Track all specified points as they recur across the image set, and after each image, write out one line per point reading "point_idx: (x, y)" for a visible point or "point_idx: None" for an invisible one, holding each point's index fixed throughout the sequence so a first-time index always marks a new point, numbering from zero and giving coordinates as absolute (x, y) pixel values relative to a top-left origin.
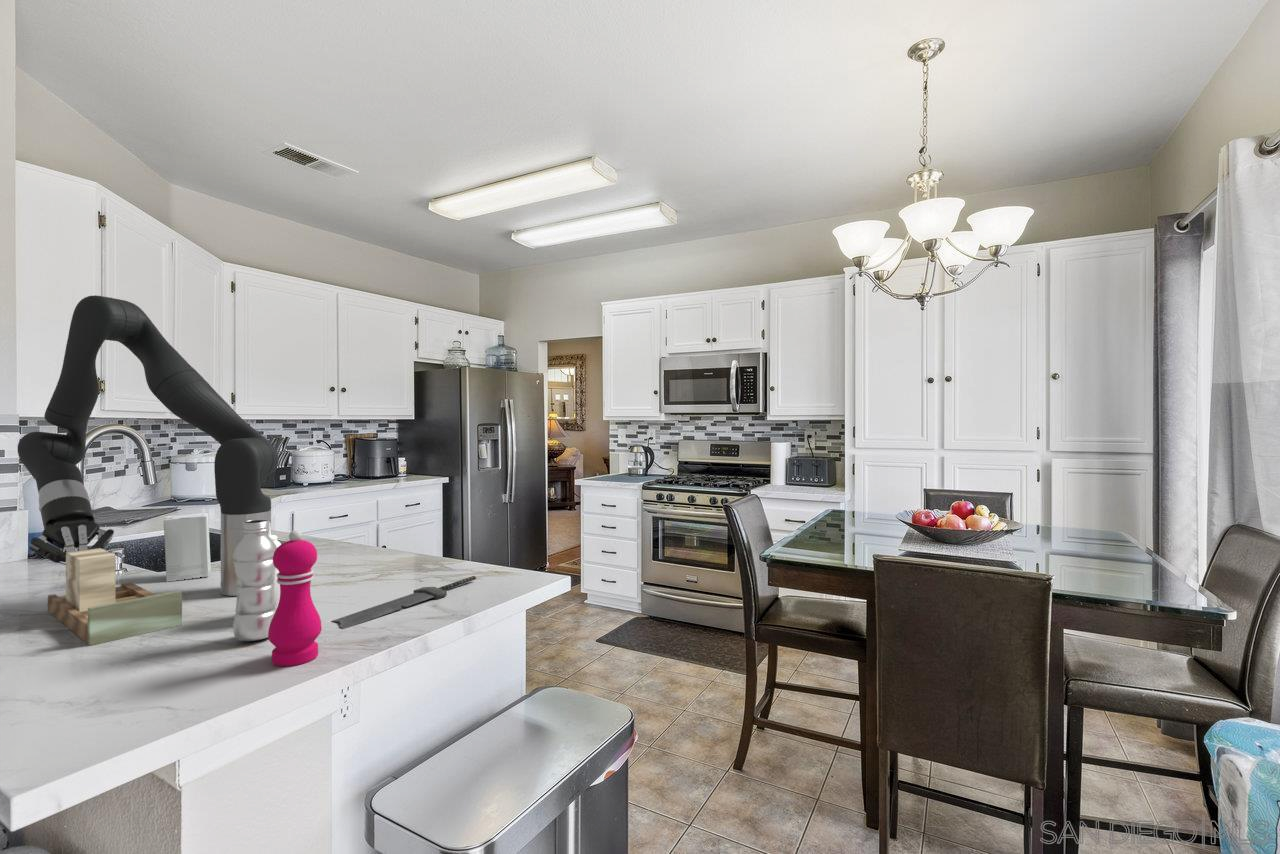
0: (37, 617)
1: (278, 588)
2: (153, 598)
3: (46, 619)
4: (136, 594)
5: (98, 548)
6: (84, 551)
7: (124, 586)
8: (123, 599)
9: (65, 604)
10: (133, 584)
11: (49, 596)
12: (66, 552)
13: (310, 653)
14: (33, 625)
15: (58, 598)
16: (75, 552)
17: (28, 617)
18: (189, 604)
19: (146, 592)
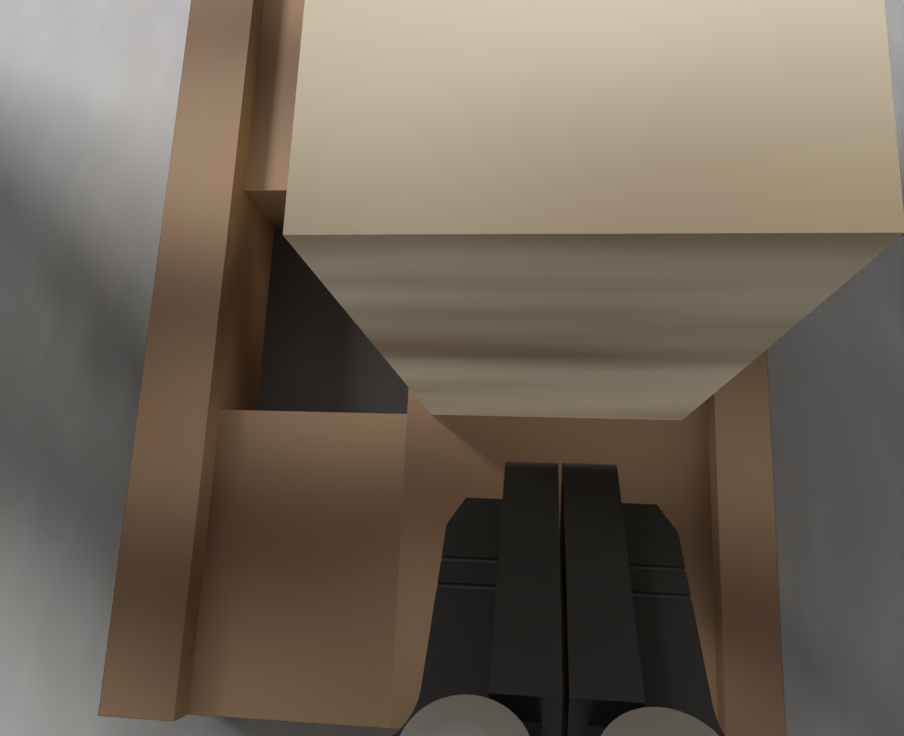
0: (830, 547)
1: None
2: None
3: (787, 414)
4: (239, 221)
5: (328, 199)
6: (606, 31)
7: (194, 586)
8: None
9: None
10: (132, 539)
11: (782, 687)
12: (897, 197)
13: None
14: (877, 301)
15: (732, 500)
16: (757, 45)
17: (884, 615)
18: (64, 40)
19: (200, 106)
